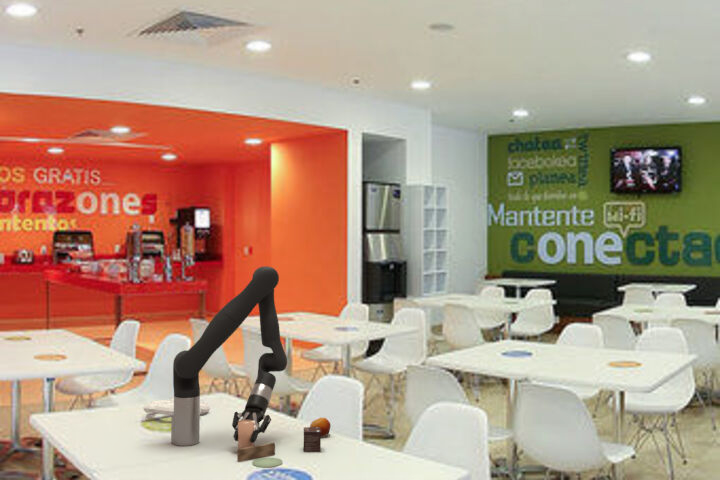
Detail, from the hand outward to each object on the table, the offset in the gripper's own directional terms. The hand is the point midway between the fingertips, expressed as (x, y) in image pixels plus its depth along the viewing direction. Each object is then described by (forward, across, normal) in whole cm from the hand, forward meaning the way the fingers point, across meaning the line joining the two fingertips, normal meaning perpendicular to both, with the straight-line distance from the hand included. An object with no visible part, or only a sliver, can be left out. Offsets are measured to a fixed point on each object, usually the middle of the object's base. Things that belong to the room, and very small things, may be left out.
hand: (243, 440), depth 269 cm
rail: (+5, +6, +2) cm, 8 cm away
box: (-6, +20, +13) cm, 25 cm away
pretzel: (-25, -51, +32) cm, 66 cm away
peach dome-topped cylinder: (+2, 0, +5) cm, 5 cm away
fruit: (-19, +16, +26) cm, 36 cm away
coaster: (+8, +12, -1) cm, 14 cm away
